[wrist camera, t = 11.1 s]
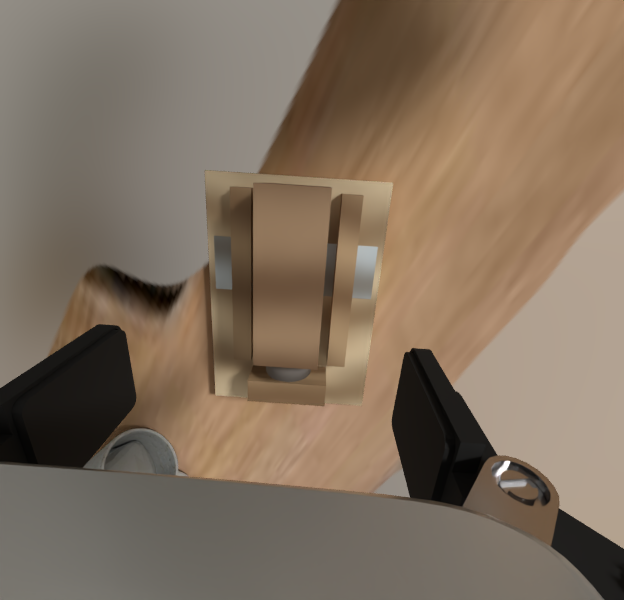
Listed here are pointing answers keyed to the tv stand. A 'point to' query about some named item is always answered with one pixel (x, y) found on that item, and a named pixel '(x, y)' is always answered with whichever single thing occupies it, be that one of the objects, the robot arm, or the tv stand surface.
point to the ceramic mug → (137, 454)
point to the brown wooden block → (288, 276)
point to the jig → (336, 300)
